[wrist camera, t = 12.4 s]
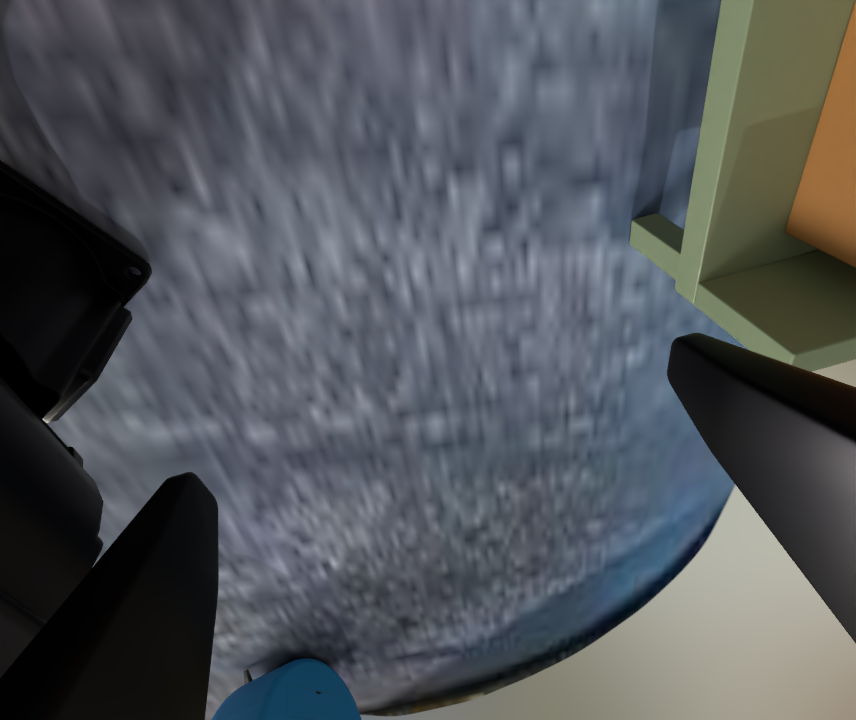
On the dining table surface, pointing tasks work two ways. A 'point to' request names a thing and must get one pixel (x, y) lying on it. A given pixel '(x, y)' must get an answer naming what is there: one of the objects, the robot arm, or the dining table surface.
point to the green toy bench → (761, 188)
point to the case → (832, 166)
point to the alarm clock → (291, 695)
